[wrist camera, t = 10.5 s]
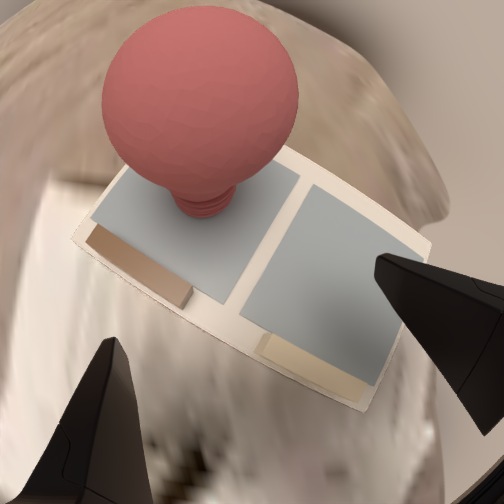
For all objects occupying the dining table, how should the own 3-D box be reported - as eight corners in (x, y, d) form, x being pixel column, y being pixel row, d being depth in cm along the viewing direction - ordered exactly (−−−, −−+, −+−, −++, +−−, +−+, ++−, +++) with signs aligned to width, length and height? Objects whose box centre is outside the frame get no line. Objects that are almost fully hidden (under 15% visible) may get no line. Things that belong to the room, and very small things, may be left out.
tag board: (425, 246, 21) (452, 233, 18) (358, 411, 17) (384, 421, 14) (188, 102, 21) (188, 73, 18) (74, 242, 17) (54, 225, 14)
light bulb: (116, 203, 17) (39, 48, 6) (193, 128, 20) (199, -36, 8) (207, 277, 17) (218, 160, 6) (279, 188, 19) (361, 34, 8)
